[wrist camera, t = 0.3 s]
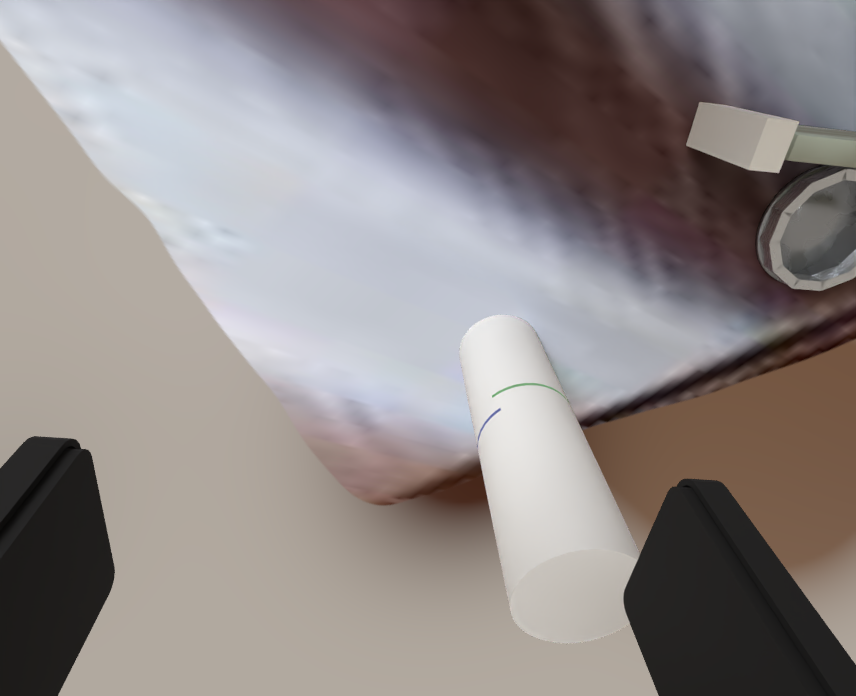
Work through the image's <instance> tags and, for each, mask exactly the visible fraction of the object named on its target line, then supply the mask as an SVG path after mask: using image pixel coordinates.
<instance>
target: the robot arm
mask: <svg viewBox="0 0 856 696" xmlns="http://www.w3.org/2000/svg"><path fill="white" fill-rule="evenodd" d="M114 573H115V570H114V563H113V558H112V553H111V549H110V543H109V539H108V534H107V529H106V524H105V519H104V514H103V509H102V504H101V500H100V494H99V490H98V484H97V480H96V475H95V470H94V465H93V460H92V456H91V453H90V452H89V451H88V450H86V449H81V447H80V444H79V443H78V441H77V440H75V439H68V438H52V437H37V436H34V437H31V438H29V439H27V440H26V441H25V442H24V443H23V444H22V445H21V446H20V447H19V448H18V449H17V451H16V452H15V453H14V454H13V455H12V456H11V457H10V458H9V459H8V461H7V462H6V463H5V464H4V465H3V466H2V467H1V468H0V696H58V694H59V692H60V690H61V688H62V686H63V684H64V682H65V680H66V678H67V676H68V674H69V672H70V670H71V668H72V666H73V664H74V662H75V660H76V658H77V656H78V654H79V653H80V651H81V648H82V647H83V645H84V643H85V641H86V639H87V637H88V635H89V633H90V631H91V629H92V627H93V625H94V623H95V621H96V619H97V617H98V615H99V613H100V611H101V609H102V607H103V605H104V603H105V601H106V599H107V597H108V595H109V593H110V591H111V588H112V585H113V581H114ZM623 602H624V609H625V612H626V615H627V617H628V620H629V622H630V625H631V627H632V630H633V632H634V635H635V637H636V639H637V642H638V645H639V647H640V650H641V652H642V655H643V657H644V660H645V662H646V665H647V667H648V670H649V672H650V675H651V677H652V680H653V682H654V685H655V687H656V690H657V692H658V695H659V696H856V665H855V663H854V662H853V661H852V659H851V658H850V656H849V655H848V654H847V652H846V651H845V650H844V648H843V647H842V645H841V644H840V643H839V641H838V640H837V639H836V637H835V636H834V634H833V633H832V632H831V630H830V629H829V628H828V626H827V625H826V624H825V622H824V621H823V619H822V618H821V617H820V615H819V614H818V612H817V611H816V610H815V608H814V607H813V606H812V604H811V603H810V601H809V600H808V599H807V598H806V596H805V595H804V593H803V592H802V591H801V589H800V588H799V587H798V585H797V584H796V582H795V581H794V580H793V578H792V577H791V575H790V574H789V573H788V571H787V570H786V569H785V567H784V566H783V564H782V563H781V562H780V561H779V559H778V558H777V556H776V555H775V553H774V552H773V551H772V549H771V548H770V547H769V545H768V544H767V542H766V541H765V540H764V538H763V537H762V536H761V534H760V533H759V531H758V530H757V529H756V527H755V526H754V525H753V523H752V522H751V520H750V519H749V518H748V517H747V515H746V514H745V512H744V511H743V510H742V508H741V507H740V505H739V504H738V503H737V501H736V500H735V499H734V497H733V496H732V495H731V493H730V492H729V490H728V489H727V488H726V487H725V485H724V484H723V483H721V482H719V481H714V480H699V479H683V480H681V481H680V482H679V483H678V485H677V487H672V488H670V490H669V491H668V493H667V495H666V498H665V500H664V502H663V504H662V506H661V509H660V511H659V513H658V516H657V518H656V520H655V522H654V524H653V527H652V529H651V531H650V534H649V536H648V538H647V540H646V542H645V545H644V547H643V549H642V551H641V554H640V556H639V558H638V560H637V563H636V565H635V567H634V569H633V572H632V574H631V576H630V578H629V580H628V583H627V585H626V587H625V590H624V596H623Z"/></svg>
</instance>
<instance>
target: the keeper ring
mask: <svg viewBox="0 0 856 696" xmlns="http://www.w3.org/2000/svg"><path fill="white" fill-rule="evenodd" d="M755 245H756V253H757V258H758V260H759V262H760V264H761V266H762V268H763V269H764V270H765V271H766V272H767V273H768V274H769V275H770V276H772V277H773V278H775V279H776V280H778V281H780V282H783V283H784V284H786V285H788V286H789V287H791V288H792V289H804V290H816V291H822V290H825V289H827V288H830V287H833V286H835V285H838V284H841V283H843V282H846V281H848V280H851V279H853V278H855V277H856V168H852V167H843V166H834V165H821V166H819V167H816V168H813V169H811V170H809V171H807V172H805V173H803V174H801V175H800V176H798V177H796V178H795V179H794V180H792V181H791V182H790V183H788V184H787V185H786V186H785V187H784V188H783V189H782V190H781V191H780V192H779V193H778V194H777V195H776V196H775V197H774V198H773V200H772V201H771V203H770V204H769V205H768V207H767V209H766V210H765V212H764V214H763V216H762V218H761V220H760V223H759V226H758V229H757V234H756V244H755Z"/></svg>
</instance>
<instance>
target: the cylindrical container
mask: <svg viewBox="0 0 856 696" xmlns="http://www.w3.org/2000/svg"><path fill="white" fill-rule="evenodd" d="M459 358H460V363H461V368H462V373H463V378H464V383H465V388H466V393H467V398H468V403H469V408H470V413H471V418H472V423H473V428H474V432H475V437H476V442H477V447H478V452H479V457H480V462H481V467H482V472H483V477H484V482H485V487H486V492H487V497H488V503H489V507H490V512H491V518H492V523H493V528H494V532H495V537H496V542H497V547H498V552H499V557H500V562H501V567H502V572H503V576H504V582H505V587H506V592H507V597H508V602H509V607H510V611H511V615H512V618H513V619H514V621H515V623H516V624H517V625H518V626H519V627H520V628H521V629H522V630H523V631H524V632H526V633H527V634H529V635H531V636H532V637H535V638H538V639H541V640H544V641H549V642H553V643H581V642H586V641H591V640H596V639H598V638H602V637H605V636H608V635H610V634H612V633H615V632H617V631H619V630H620V629H622V628H624V627H625V626H627V625H628V624H630V622H629V620H628V617H627V615H626V612H625V609H624V602H623V596H624V590H625V587H626V585H627V583H628V580H629V578H630V576H631V574H632V572H633V569H634V567H635V565H636V563H637V560H638V558H639V556H640V552H639V550H638V548H637V546H636V544H635V542H634V539H633V537H632V535H631V533H630V531H629V529H628V527H627V525H626V522H625V520H624V518H623V516H622V514H621V512H620V510H619V508H618V505H617V503H616V501H615V499H614V498H613V495H612V493H611V491H610V488H609V486H608V484H607V482H606V480H605V478H604V476H603V474H602V471H601V469H600V467H599V465H598V463H597V461H596V459H595V457H594V455H593V452H592V450H591V448H590V446H589V444H588V442H587V440H586V438H585V435H584V433H583V431H582V429H581V427H580V425H579V423H578V421H577V418H576V416H575V414H574V412H573V410H572V408H571V406H570V404H569V402H568V400H567V397H566V395H565V393H564V391H563V389H562V387H561V385H560V383H559V380H558V378H557V376H556V374H555V372H554V370H553V368H552V366H551V363H550V361H549V359H548V357H547V355H546V353H545V351H544V348H543V346H542V344H541V342H540V340H539V338H538V336H537V334H536V332H535V330H534V329H533V327H532V326H531V325H530V324H528V323H527V322H526V321H524V320H523V319H521V318H518V317H515V316H511V315H495V316H490V317H487V318H485V319H482V320H480V321H479V322H477V323H476V324H474V325H473V326H472V327H471V328H470V329H469V330H468V331H467V332H466V334H465V335H464V337H463V339H462V341H461V344H460V348H459Z"/></svg>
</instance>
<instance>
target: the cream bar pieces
mask: <svg viewBox="0 0 856 696" xmlns="http://www.w3.org/2000/svg"><path fill="white" fill-rule="evenodd" d="M798 124H799V121H795V120H791V119H786V118H782V117H777V116H773V115H768V114H764V113H759V112H755V111H751V110H746V109H742V108H737V107H733V106H728V105H722V104H713V103H704V102H699V105H698V109H697V112H696V115H695V118H694V121H693V125H692V128H691V131H690V134H689V137H688V140H687V144H686V146H689V147H691V148H694V149H696V150H699V151H701V152H704V153H706V154H709V155H712V156H714V157H717V158H719V159H722V160H724V161H727V162H729V163H732V164H735V165H737V166H740V167H742V168H745V169H747V170H754V171H763V172H773V173H779V171H780V169H781V166H782V164H783V161H784V159H785V156H786V154H787V151H788V149H789V146H790V144H791V141H792V139H793V136H794V134H795V131H796V129H797V126H798Z"/></svg>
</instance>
